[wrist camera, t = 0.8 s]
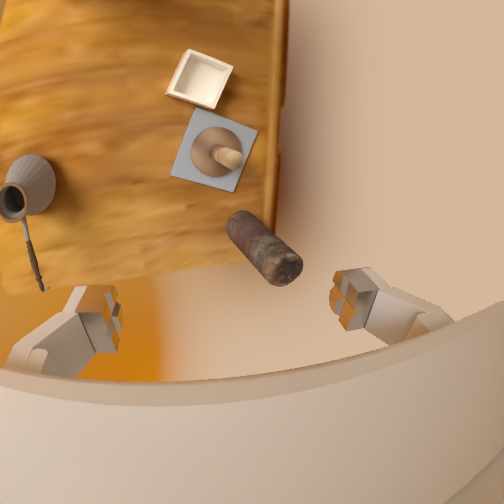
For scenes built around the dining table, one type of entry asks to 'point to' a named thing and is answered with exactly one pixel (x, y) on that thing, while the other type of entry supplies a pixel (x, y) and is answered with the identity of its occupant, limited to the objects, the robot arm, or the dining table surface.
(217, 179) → the mat
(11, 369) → the robot arm
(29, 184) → the coffee pot
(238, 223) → the candle
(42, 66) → the dining table surface
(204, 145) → the lid
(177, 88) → the dish
